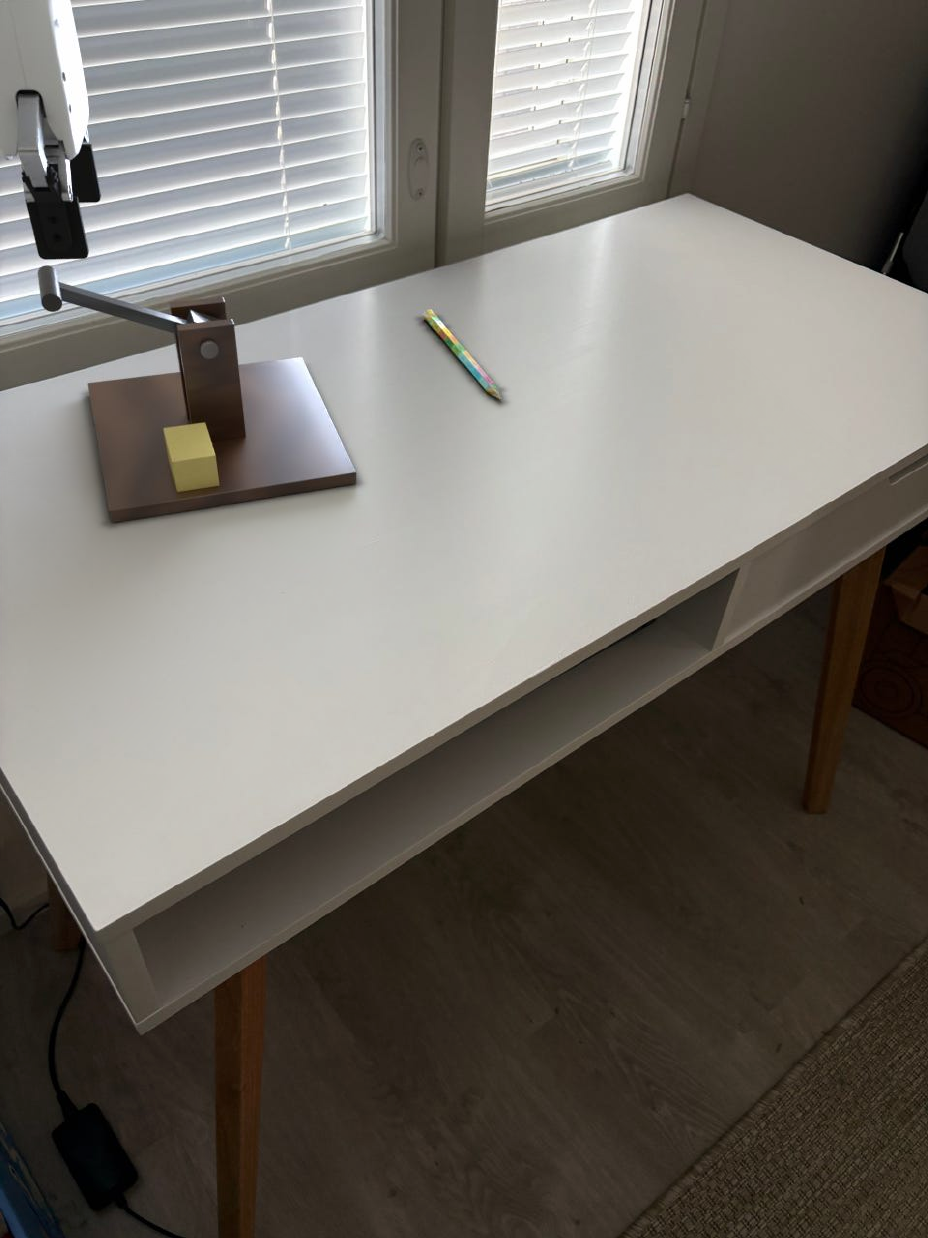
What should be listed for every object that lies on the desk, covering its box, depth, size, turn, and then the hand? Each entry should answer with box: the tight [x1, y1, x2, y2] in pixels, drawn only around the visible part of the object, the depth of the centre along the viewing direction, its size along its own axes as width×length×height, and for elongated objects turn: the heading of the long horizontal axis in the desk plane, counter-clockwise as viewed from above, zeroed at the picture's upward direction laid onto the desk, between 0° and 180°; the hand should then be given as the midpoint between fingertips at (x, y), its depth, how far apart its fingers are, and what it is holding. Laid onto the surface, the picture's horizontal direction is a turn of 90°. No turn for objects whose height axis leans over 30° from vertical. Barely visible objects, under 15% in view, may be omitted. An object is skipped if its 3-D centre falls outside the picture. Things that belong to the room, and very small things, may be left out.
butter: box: [163, 423, 219, 492], centre depth 83 cm, size 5×3×3 cm
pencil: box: [422, 309, 502, 401], centre depth 102 cm, size 1×1×18 cm
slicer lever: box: [37, 264, 222, 334], centre depth 80 cm, size 14×5×2 cm, turn 112°
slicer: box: [87, 296, 357, 524], centre depth 86 cm, size 20×20×12 cm
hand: (72, 227), depth 72 cm, fingers open, 9 cm apart
